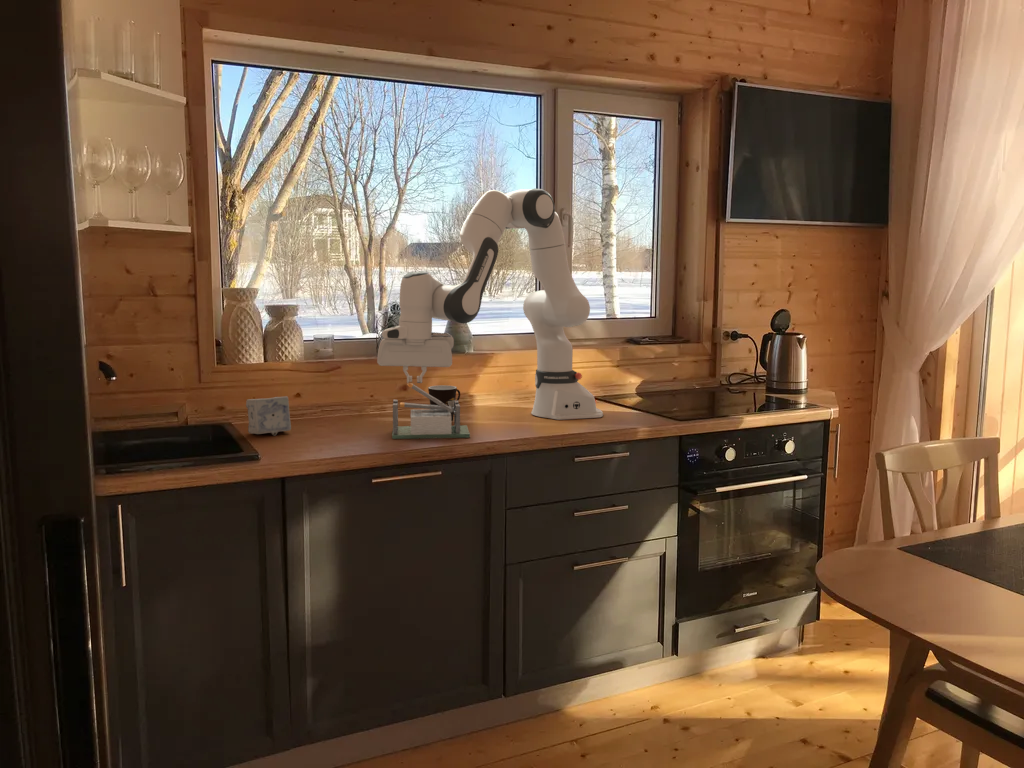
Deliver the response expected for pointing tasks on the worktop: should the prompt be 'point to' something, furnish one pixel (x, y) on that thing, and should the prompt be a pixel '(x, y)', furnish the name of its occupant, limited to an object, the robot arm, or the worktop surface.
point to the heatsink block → (430, 424)
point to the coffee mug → (444, 395)
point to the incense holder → (268, 415)
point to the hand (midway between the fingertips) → (414, 382)
